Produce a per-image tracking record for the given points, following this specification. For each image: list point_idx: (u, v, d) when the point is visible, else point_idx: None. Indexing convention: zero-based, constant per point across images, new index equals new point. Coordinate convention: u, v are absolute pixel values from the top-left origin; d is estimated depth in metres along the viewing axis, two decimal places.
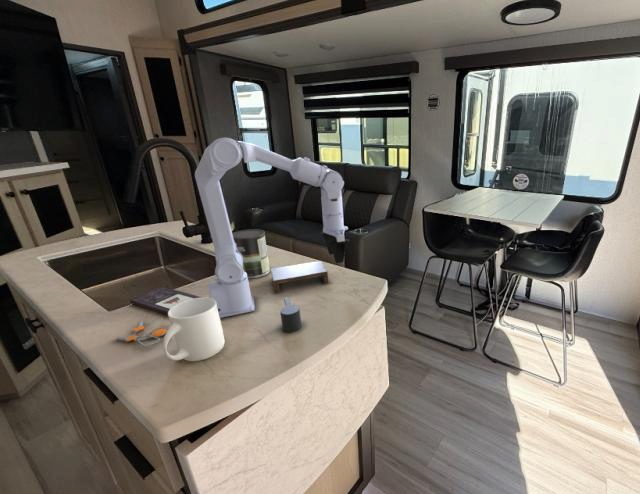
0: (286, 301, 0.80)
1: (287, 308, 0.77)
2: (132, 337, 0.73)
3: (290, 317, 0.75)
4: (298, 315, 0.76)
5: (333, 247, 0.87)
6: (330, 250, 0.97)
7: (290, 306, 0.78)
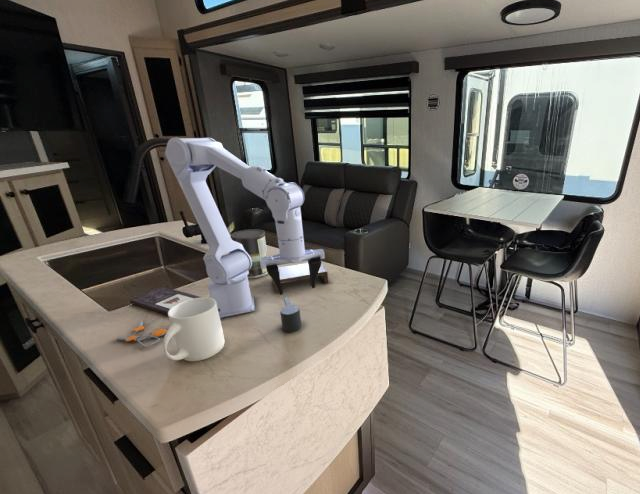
0: (286, 301, 0.80)
1: (287, 308, 0.77)
2: (132, 337, 0.73)
3: (290, 317, 0.75)
4: (298, 315, 0.76)
5: None
6: (310, 280, 0.80)
7: (290, 306, 0.78)
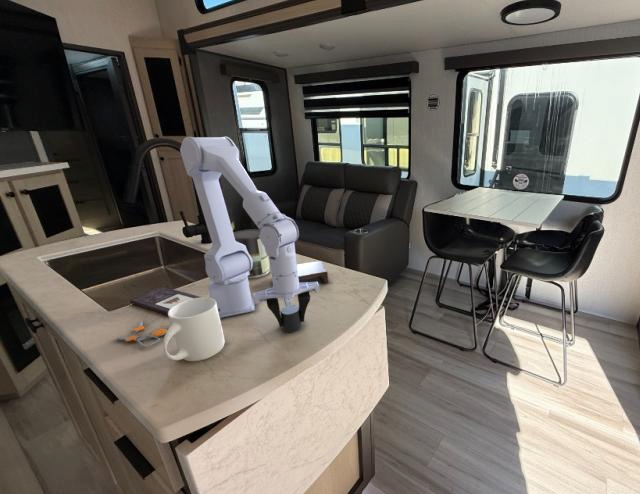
0: (286, 301, 0.80)
1: (287, 308, 0.77)
2: (132, 337, 0.73)
3: (290, 317, 0.75)
4: (298, 315, 0.76)
5: None
6: None
7: (290, 306, 0.78)
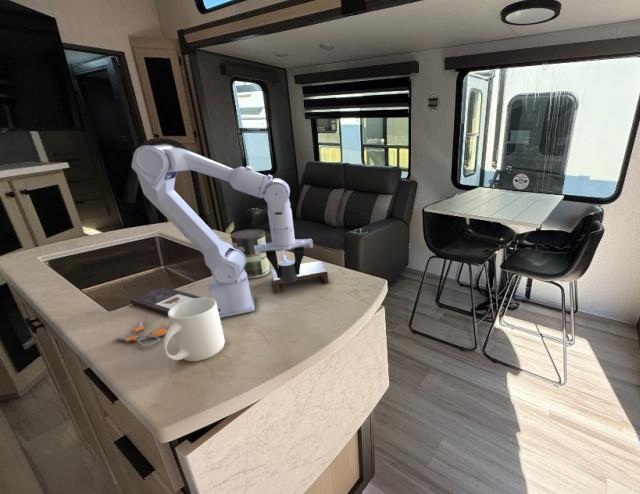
0: (284, 257, 0.90)
1: (284, 262, 0.86)
2: (132, 337, 0.73)
3: (287, 268, 0.84)
4: (294, 268, 0.86)
5: None
6: None
7: (287, 260, 0.87)
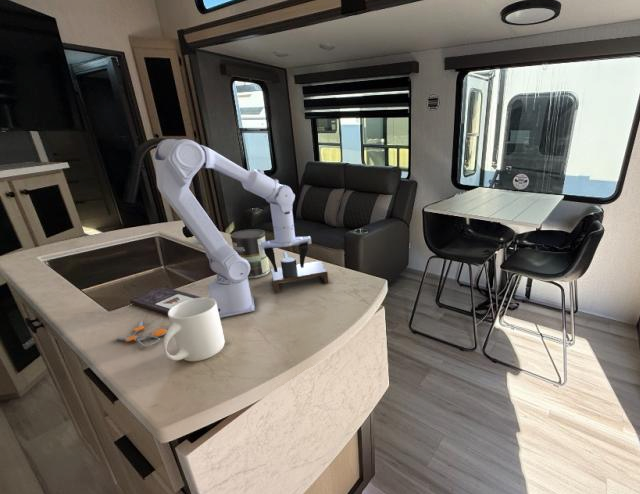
0: (285, 255, 1.00)
1: (286, 259, 0.97)
2: (132, 337, 0.73)
3: (288, 264, 0.94)
4: (295, 264, 0.96)
5: None
6: (300, 262, 0.99)
7: (288, 257, 0.97)
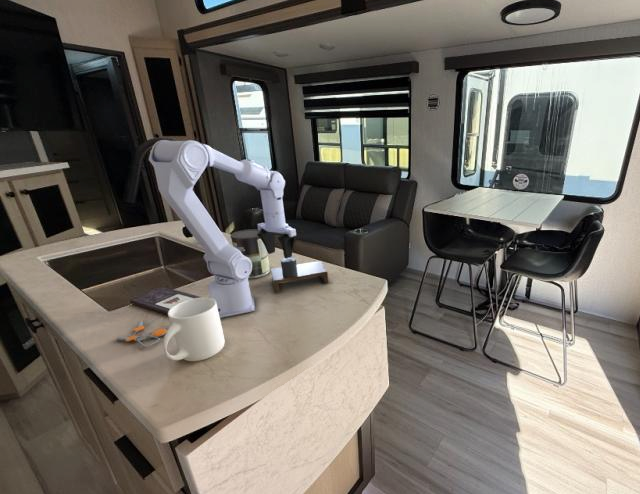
0: None
1: (286, 259, 0.97)
2: (132, 337, 0.73)
3: (288, 264, 0.94)
4: (295, 264, 0.96)
5: (285, 243, 0.93)
6: (269, 249, 0.99)
7: None
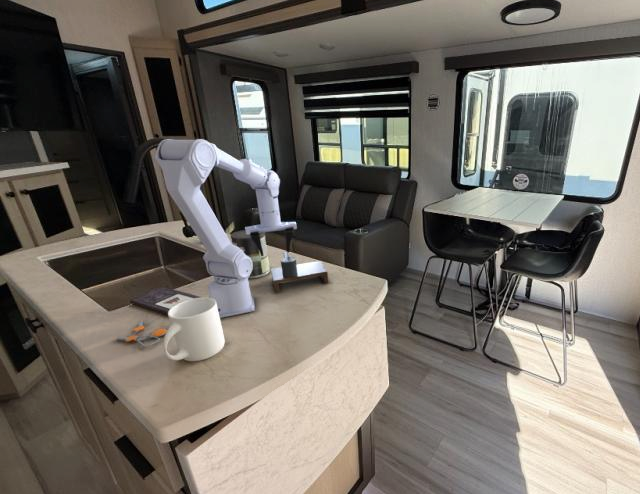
0: (285, 255, 1.00)
1: (286, 259, 0.97)
2: (132, 337, 0.73)
3: (288, 264, 0.94)
4: (295, 264, 0.96)
5: None
6: (262, 251, 0.98)
7: (288, 257, 0.97)
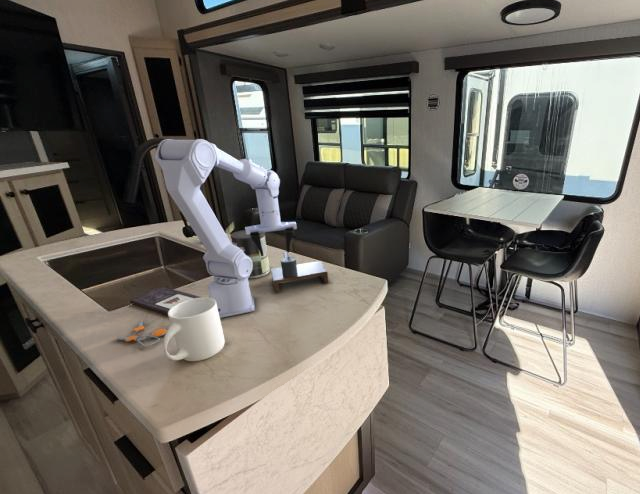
0: (285, 255, 1.00)
1: (286, 259, 0.97)
2: (132, 337, 0.73)
3: (288, 264, 0.94)
4: (295, 264, 0.96)
5: None
6: (262, 251, 0.98)
7: (288, 257, 0.97)
